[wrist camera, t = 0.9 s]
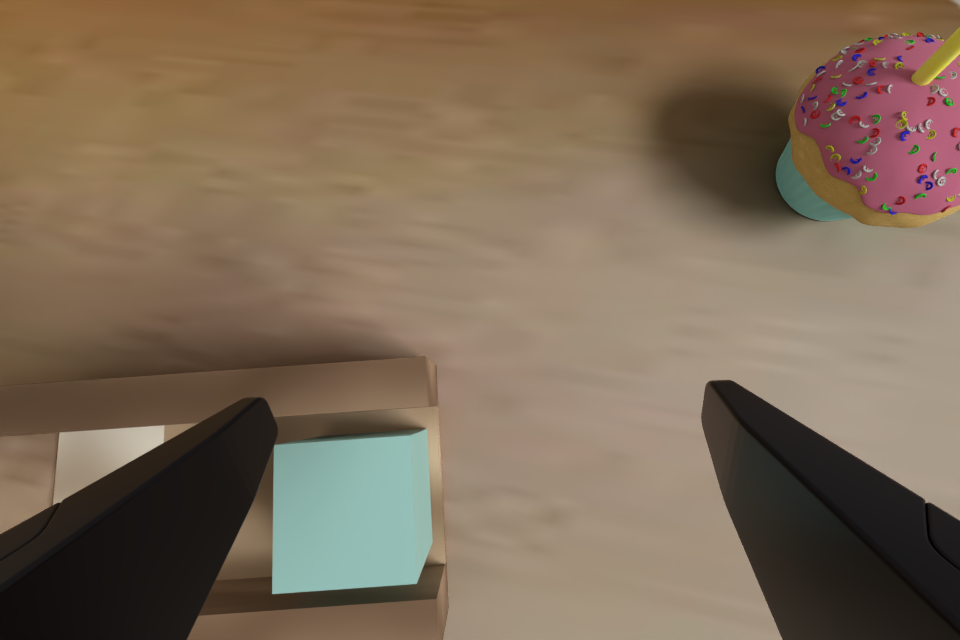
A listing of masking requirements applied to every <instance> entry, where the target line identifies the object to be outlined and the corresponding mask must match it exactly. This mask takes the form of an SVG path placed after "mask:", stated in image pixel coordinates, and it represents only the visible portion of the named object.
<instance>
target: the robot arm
mask: <svg viewBox="0 0 960 640" xmlns="http://www.w3.org/2000/svg"><path fill="white" fill-rule="evenodd" d="M701 419H702V426H703V430H704V434H705V437H706V441H707V444H708V448H709V451H710V454H711V458H712V461H713V465H714V468H715V472H716V475H717V479H718V482H719V486H720V489H721V492H722V495H723V499H724V501H725V504H726V507H727V509H728V512H729V514H730V517H731V519H732V521H733V524H734V526H735V528H736V531H737V533H738V535H739V538H740V540H741V543H742V545H743V547H744V550H745V552H746V554H747V557H748V559H749V561H750V564H751V566H752V569H753V571H754V573H755V576H756V578H757V580H758V583H759V585H760V587H761V590H762V592H763V595H764V597H765V599H766V602H767V604H768V606H769V609H770V611H771V613H772V616H773V618H774V621H775V623H776V625H777V628H778V630H779V632H780V635H781V637H782V639H783V640H960V520H958V519H956V518H955V517H953V516H951V515H950V514H948V513H947V512H945V511H943V510H942V509H940V508H938V507H937V506H935V505H934V504H932V503H925V500H924V499H923V498H922V497H920V496H919V495H917V494H915V493H914V492H912V491H911V490H909V489H907V488H906V487H904V486H902V485H901V484H899V483H898V482H896V481H894V480H893V479H891V478H889V477H888V476H886V475H885V474H883V473H881V472H880V471H878V470H877V469H875V468H873V467H872V466H870V465H868V464H867V463H865V462H864V461H862V460H860V459H859V458H857V457H855V456H854V455H852V454H851V453H849V452H847V451H846V450H844V449H842V448H841V447H839V446H838V445H836V444H834V443H833V442H831V441H829V440H828V439H826V438H825V437H823V436H821V435H820V434H818V433H816V432H815V431H813V430H812V429H810V428H808V427H807V426H805V425H804V424H802V423H800V422H799V421H797V420H795V419H794V418H792V417H791V416H789V415H787V414H786V413H784V412H782V411H781V410H779V409H778V408H776V407H774V406H773V405H771V404H769V403H768V402H766V401H765V400H763V399H761V398H760V397H758V396H756V395H755V394H753V393H752V392H750V391H748V390H747V389H745V388H743V387H742V386H740V385H739V384H737V383H735V382H733V381H731V380H714V381H709V382H708V383H707V384H706V387H705V393H704V400H703V407H702V415H701ZM277 436H278V425H277V423H276V420H275V418H274V416H273V413H272V411H271V409H270V406H269V404H268V402H267V400H266V399H265V398H263V397H245V398H242V399H240V400H239V401H237V402H235V403H233V404H232V405H230V406H228V407H226V408H225V409H223V410H221V411H219V412H217V413H216V414H214V415H212V416H210V417H209V418H207V419H205V420H203V421H201V422H200V423H198V424H196V425H194V426H193V427H191V428H189V429H187V430H186V431H184V432H182V433H180V434H178V435H177V436H175V437H173V438H171V439H170V440H168V441H166V442H164V443H162V444H161V445H159V446H157V447H155V448H154V449H152V450H150V451H148V452H147V453H145V454H143V455H141V456H139V457H138V458H136V459H134V460H132V461H131V462H129V463H127V464H125V465H124V466H122V467H120V468H118V469H116V470H115V471H113V472H111V473H109V474H108V475H106V476H104V477H102V478H100V479H99V480H97V481H95V482H93V483H92V484H90V485H88V486H86V487H85V488H83V489H81V490H79V491H77V492H76V493H74V494H72V495H70V496H69V497H67V498H65V499H63V500H62V502H61V503H56V504H54V505H52V506H51V507H49V508H47V509H45V510H44V511H42V512H40V513H38V514H37V515H35V516H33V517H31V518H29V519H27V520H26V521H24V522H22V523H20V524H18V525H17V526H15V527H13V528H11V529H9V530H7V531H6V532H4V533H2V534H0V640H187V639H188V637H189V634H190V632H191V630H192V628H193V626H194V624H195V622H196V620H197V618H198V616H199V614H200V612H201V610H202V608H203V606H204V603H205V601H206V599H207V597H208V595H209V593H210V591H211V589H212V587H213V585H214V583H215V581H216V579H217V577H218V574H219V572H220V570H221V568H222V566H223V564H224V562H225V560H226V558H227V556H228V554H229V552H230V550H231V548H232V545H233V543H234V541H235V539H236V537H237V535H238V533H239V531H240V529H241V527H242V525H243V523H244V521H245V519H246V517H247V514H248V512H249V510H250V508H251V506H252V504H253V501H254V499H255V496H256V494H257V491H258V489H259V486H260V483H261V481H262V478H263V475H264V472H265V470H266V467H267V464H268V461H269V459H270V456H271V453H272V451H273V448H274V445H275V442H276V440H277Z"/></svg>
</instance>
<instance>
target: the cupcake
mask: <svg viewBox="0 0 960 640" xmlns="http://www.w3.org/2000/svg"><path fill="white" fill-rule="evenodd" d="M919 34H920V35H919ZM908 35H909V36H908ZM788 123H789V127H790V133H791V138H790V140H789V142H788V144H787V146H786V147H785V149H784V151H783V153H782V154H781V156H780V158H779V160H778V163H777V167H776V182H777V186H778V189H779V191H780V193H781V195H782V197H783V199H784V200H785V201H786V202H787V204H788V205H789V206H790V207H792V208H793V209H794V210H795V211H797V212H798V213H800V214H801V215H803V216H805V217H808V218H811V219H814V220H819V221H836V220H841V219H848V218H855V219H856V220H857V221H859V222H861V223H863V224H866V225H872V226H886V227H899V228H914V227H919V226H923V225H925V224H928V223H931V222H933V221H935V220H938V219H940V218H942V217H945V216H947V215H950V214H952V213H954V212H956V211H958V210H959V209H960V27H959V28H958V29H957V30H956V31H955V32H954V33H953V34H952V35H951V36H950V37H949V38H948V39H947V40H946V41H944V39H942V38H941V37H940V36H939V35H937V38H936V37H935V36H933V35H931V34H929V35H926V36H924V34H923V33H921V32H918V33H917V36H916V35H915V36H912V34H910V33H903V34H902V35H901V36H899V35H898V34H895V33H890V34H888V35H885V36H884V37H879V38H866V39H865V41H864V40H861V41H860V42H858V43H855V44H854V45H852V46H850V47H845V48H843V49H841V50H840V51H839V53H838V54H837V55H835V56H834V57H832V58H831V59H829V60H828V61H827V62H825V63H824V64H823V65H822V66H820V67H818V68H817V69H816V71H815V72H814V73H813V74H812V75H811V76H810V77H809V78H808V79H807V80H806V81H805V82H804V84H803V85H802V87H801V89H800V92H799V94H798V97H797V99H796V101H795V103H794V105H793V107H792V109H791V111H790V113H789V117H788Z"/></svg>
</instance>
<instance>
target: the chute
mask: <svg viewBox="0 0 960 640" xmlns="http://www.w3.org/2000/svg"><path fill="white" fill-rule="evenodd" d="M245 397H263V398H265V399H266V400H267V402H268V404H269V406H270V409H271V411H272V413H273V416H274V418H275V420H276V423H277V425H278V436H277V440H276V442H275V445H277V444H282V443H287V442H292V441H298V440H303V439H308V438H314V437H319V436H329V435H343V434H357V433H372V432H386V431H400V430H415V429H427V432H428V454H429V475H430V496H431V517H432V539H433V542H432V545H431V548H430V550H429V553H428V556H427V558H426V561H425V563H424V566H423V569H422V571H421V574H420V577H419V579H418V582H417V584H408V585H394V586H380V587H366V588H352V589H338V590H324V591H309V592H295V593H281V594H272V568H273V477H274V448H273V451H272V453H271V456H270V459H269V461H268V464H267V467H266V470H265V472H264V475H263V478H262V481H261V483H260V486H259V489H258V491H257V494H256V496H255V499H254V501H253V504H252V506H251V508H250V510H249V512H248V514H247V517H246V519H245V521H244V523H243V525H242V527H241V529H240V531H239V533H238V535H237V537H236V539H235V541H234V543H233V545H232V548H231V550H230V552H229V554H228V556H227V558H226V560H225V562H224V564H223V566H222V568H221V570H220V572H219V574H218V577H217V579H216V581H215V583H214V585H213V587H212V589H211V591H210V593H209V595H208V597H207V599H206V601H205V603H204V606H203V608H202V610H201V612H200V614H199V616H198V618H197V620H196V622H195V624H194V626H193V628H192V630H191V632H190V634H189V637H188V639H187V640H443V636H444V630H445V625H446V619H447V614H448V608H449V605H448V585H447V566H446V546H445V527H444V508H443V488H442V469H441V450H440V430H439V411H438V391H437V372H436V365H435V364H434V363H433V362H431V361H430V360H429V359H428V358H426V357H425V356H423V357H408V358H394V359H380V360H365V361H351V362H336V363H322V364H308V365H293V366H279V367H264V368H250V369H236V370H221V371H207V372H193V373H178V374H164V375H149V376H135V377H121V378H106V379H92V380H78V381H63V382H49V383H34V384H20V385H6V386H0V437H1V436H16V435H31V434H47V433H59V443H58V454H57V465H56V476H55V486H54V497H53V505H54V504H56V503H61V502H62V500H63V499H65V498H67V497H69V496H70V495H72V494H74V493H76V492H77V491H79V490H81V489H83V488H85V487H86V486H88V485H90V484H92V483H93V482H95V481H97V480H99V479H100V478H102V477H104V476H106V475H108V474H109V473H111V472H113V471H115V470H116V469H118V468H120V467H122V466H124V465H125V464H127V463H129V462H131V461H132V460H134V459H136V458H138V457H139V456H141V455H143V454H145V453H147V452H148V451H150V450H152V449H154V448H155V447H157V446H159V445H161V444H162V443H164V442H166V441H168V440H170V439H171V438H173V437H175V436H177V435H178V434H180V433H182V432H184V431H186V430H187V429H189V428H191V427H193V426H194V425H196V424H198V423H200V422H201V421H203V420H205V419H207V418H209V417H210V416H212V415H214V414H216V413H217V412H219V411H221V410H223V409H225V408H226V407H228V406H230V405H232V404H233V403H235V402H237V401H239V400H240V399H242V398H245Z"/></svg>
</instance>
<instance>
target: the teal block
mask: <svg viewBox="0 0 960 640" xmlns="http://www.w3.org/2000/svg"><path fill="white" fill-rule="evenodd" d="M432 542H433V539H432V517H431V496H430V475H429V454H428V432H427V429H415V430H400V431H386V432H372V433H357V434H343V435H329V436H319V437H314V438H308V439H303V440H298V441H292V442H287V443H282V444H277V445H274V477H273V568H272V594H281V593H295V592H309V591H324V590H338V589H352V588H366V587H380V586H394V585H408V584H417V582H418V579H419V577H420V574H421V571H422V569H423V566H424V563H425V561H426V558H427V556H428V553H429V550H430V548H431V545H432Z"/></svg>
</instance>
